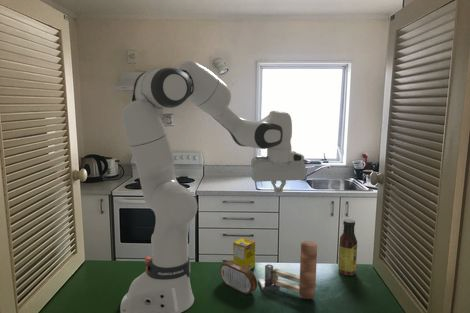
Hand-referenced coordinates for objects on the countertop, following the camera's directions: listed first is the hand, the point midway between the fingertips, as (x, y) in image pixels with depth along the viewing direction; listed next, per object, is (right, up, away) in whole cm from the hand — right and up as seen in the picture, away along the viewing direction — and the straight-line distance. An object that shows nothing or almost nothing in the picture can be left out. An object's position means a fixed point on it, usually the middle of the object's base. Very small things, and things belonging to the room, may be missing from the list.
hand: (278, 192), depth 129 cm
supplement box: (-13, -29, +2) cm, 32 cm away
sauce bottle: (+25, -30, -1) cm, 39 cm away
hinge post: (-4, -31, -10) cm, 33 cm away
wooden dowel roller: (+3, -30, -15) cm, 34 cm away
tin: (-15, -32, -12) cm, 37 cm away
